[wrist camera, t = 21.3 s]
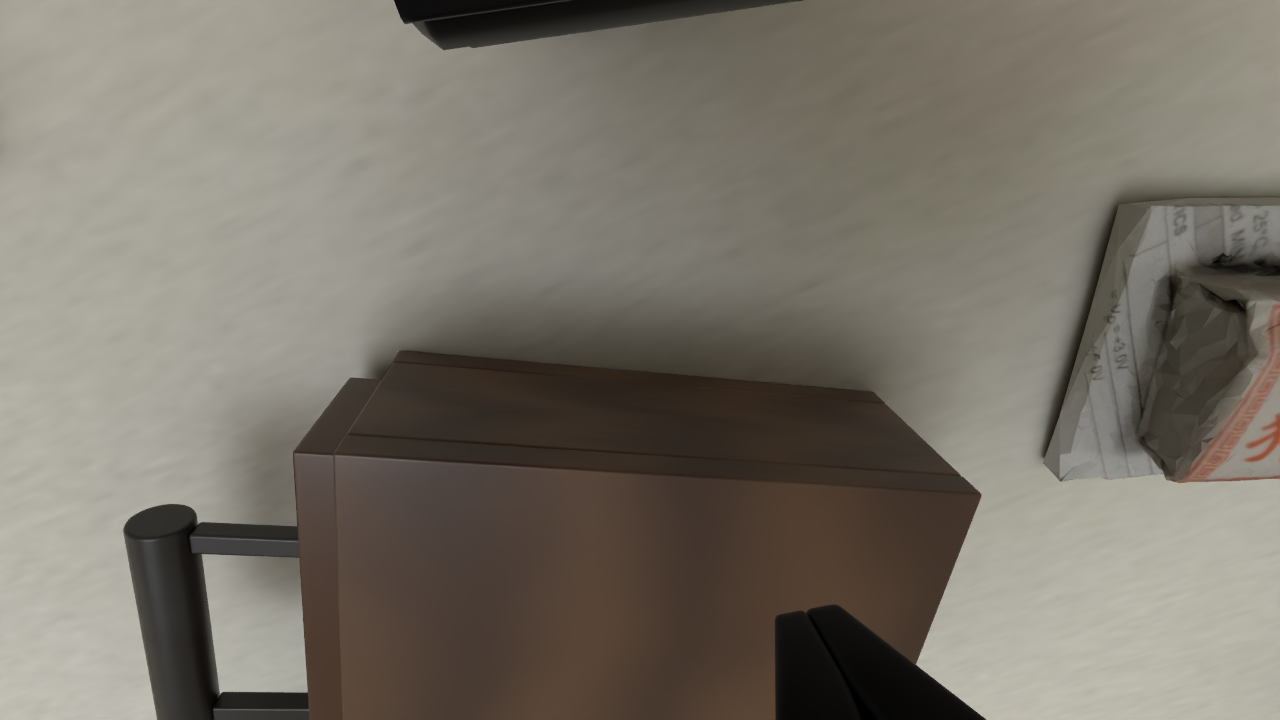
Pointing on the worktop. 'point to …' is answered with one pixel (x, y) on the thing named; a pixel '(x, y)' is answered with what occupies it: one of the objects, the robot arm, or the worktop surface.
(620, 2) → the robot arm
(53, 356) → the worktop surface
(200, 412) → the worktop surface
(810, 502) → the cabinet
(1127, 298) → the packaged product
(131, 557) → the drawer
